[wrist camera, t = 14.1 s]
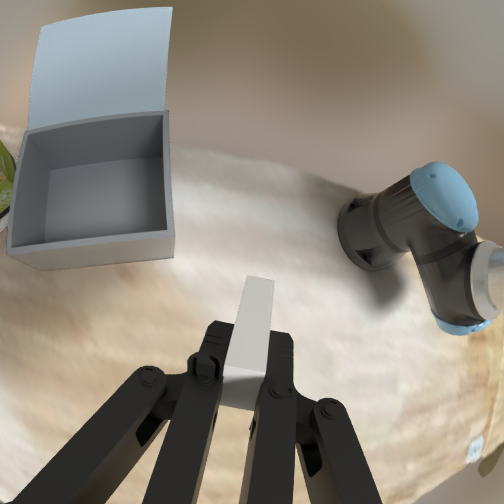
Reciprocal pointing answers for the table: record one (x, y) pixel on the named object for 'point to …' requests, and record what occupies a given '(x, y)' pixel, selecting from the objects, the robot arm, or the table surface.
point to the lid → (100, 66)
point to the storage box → (93, 193)
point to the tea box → (6, 184)
